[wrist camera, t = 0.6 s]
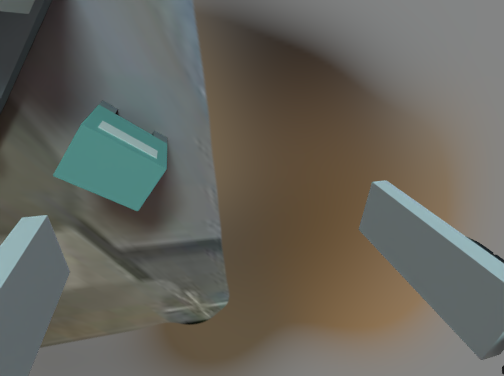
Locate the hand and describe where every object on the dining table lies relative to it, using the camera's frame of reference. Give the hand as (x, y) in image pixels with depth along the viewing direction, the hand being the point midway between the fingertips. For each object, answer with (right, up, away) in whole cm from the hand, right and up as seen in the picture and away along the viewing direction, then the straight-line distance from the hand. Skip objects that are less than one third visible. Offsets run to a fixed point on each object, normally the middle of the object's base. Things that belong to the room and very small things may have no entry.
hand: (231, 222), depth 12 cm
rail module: (-13, +7, +18) cm, 23 cm away
